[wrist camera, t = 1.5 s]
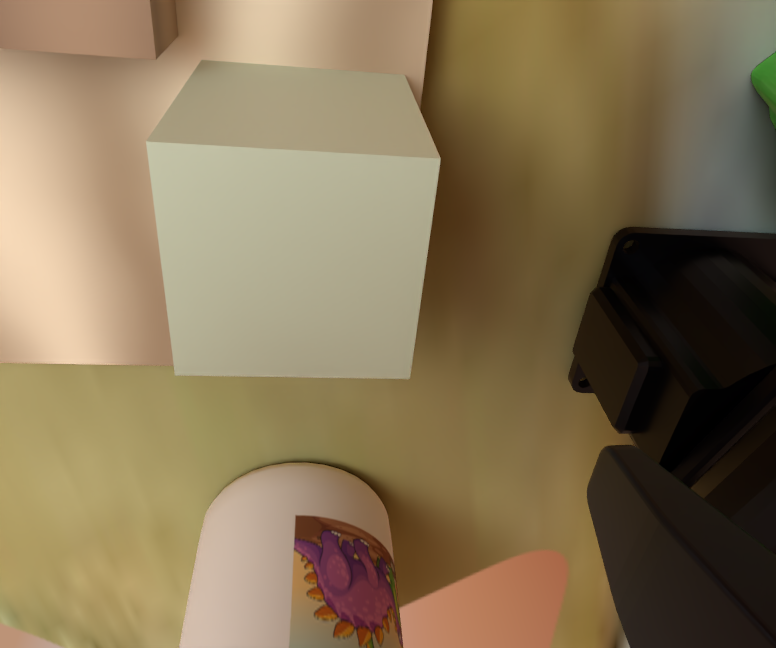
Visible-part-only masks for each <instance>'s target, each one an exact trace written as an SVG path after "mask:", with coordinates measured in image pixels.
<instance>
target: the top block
mask: <svg viewBox="0 0 776 648" xmlns="http://www.w3.org/2000/svg"><path fill="white" fill-rule="evenodd" d="M146 146H147V154H148V162H149V170H150V178H151V186H152V194H153V202H154V210H155V218H156V226H157V234H158V242H159V251H160V259H161V267H162V275H163V283H164V291H165V299H166V307H167V315H168V323H169V331H170V339H171V347H172V355H173V363H174V371H175V375H184V376H247V377H310V378H373V379H410V375H411V368H412V360H413V353H414V346H415V339H416V332H417V325H418V318H419V311H420V304H421V296H422V289H423V282H424V275H425V268H426V261H427V254H428V247H429V239H430V232H431V225H432V218H433V211H434V204H435V197H436V190H437V183H438V175H439V168H440V161H441V158H440V156H439V153H438V151H437V149H436V146H435V144H434V142H433V139H432V137H431V135H430V132H429V130H428V128H427V126H426V123H425V121H424V119H423V116H422V114H421V112H420V109H419V107H418V105H417V102H416V100H415V98H414V95H413V93H412V91H411V89H410V86H409V84H408V82H407V79H406V77H405V75H400V74H387V73H373V72H360V71H346V70H333V69H319V68H306V67H292V66H279V65H265V64H252V63H238V62H225V61H211V60H201V61H200V63H199V64H198V66H197V67H196V69H195V70H194V72H193V73H192V75H191V76H190V77H189V79H188V80H187V82H186V83H185V85H184V86H183V88H182V89H181V91H180V92H179V94H178V95H177V97H176V98H175V100H174V101H173V102H172V104H171V105H170V107H169V108H168V110H167V111H166V113H165V114H164V116H163V117H162V119H161V120H160V122H159V123H158V125H157V126H156V127H155V129H154V130H153V132H152V133H151V135H150V136H149V138H148V139H147V141H146Z"/></svg>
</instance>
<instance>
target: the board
mask: <svg viewBox="0 0 776 648" xmlns="http://www.w3.org/2000/svg"><path fill="white" fill-rule="evenodd" d="M175 3H176V14H177V26H178V37H177V38H176V39H175V40H174V41H173V42H172V43H171V44H170V46H169V47H168V48H167V49H166V50H165V51H164V52H163V53H162V54H161V55H160V56H159V57H158V58H157V59H156V60H151V59H138V58H124V57H110V56H97V55H83V54H70V53H56V52H42V51H29V50H15V49H1V48H0V363H46V364H103V365H160V366H174V363H173V355H172V347H171V339H170V331H169V323H168V315H167V307H166V299H165V291H164V283H163V275H162V267H161V259H160V251H159V242H158V234H157V226H156V218H155V210H154V202H153V194H152V186H151V178H150V170H149V162H148V154H147V146H146V141H147V139H148V138H149V136H150V135H151V133H152V132H153V130H154V129H155V127H156V126H157V125H158V123H159V122H160V120H161V119H162V117H163V116H164V114H165V113H166V111H167V110H168V108H169V107H170V105H171V104H172V102H173V101H174V100H175V98H176V97H177V95H178V94H179V92H180V91H181V89H182V88H183V86H184V85H185V83H186V82H187V80H188V79H189V77H190V76H191V75H192V73H193V72H194V70H195V69H196V67H197V66H198V64H199V63H200V61H201V60H211V61H225V62H238V63H252V64H265V65H279V66H292V67H306V68H319V69H333V70H346V71H360V72H373V73H387V74H400V75H405V77H406V79H407V82H408V84H409V86H410V89H411V91H412V93H413V95H414V98H415V100H416V102H417V105H418V107H419V109H420V107H421V98H422V90H423V81H424V72H425V64H426V55H427V47H428V38H429V30H430V21H431V12H432V4H433V0H175Z"/></svg>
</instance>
